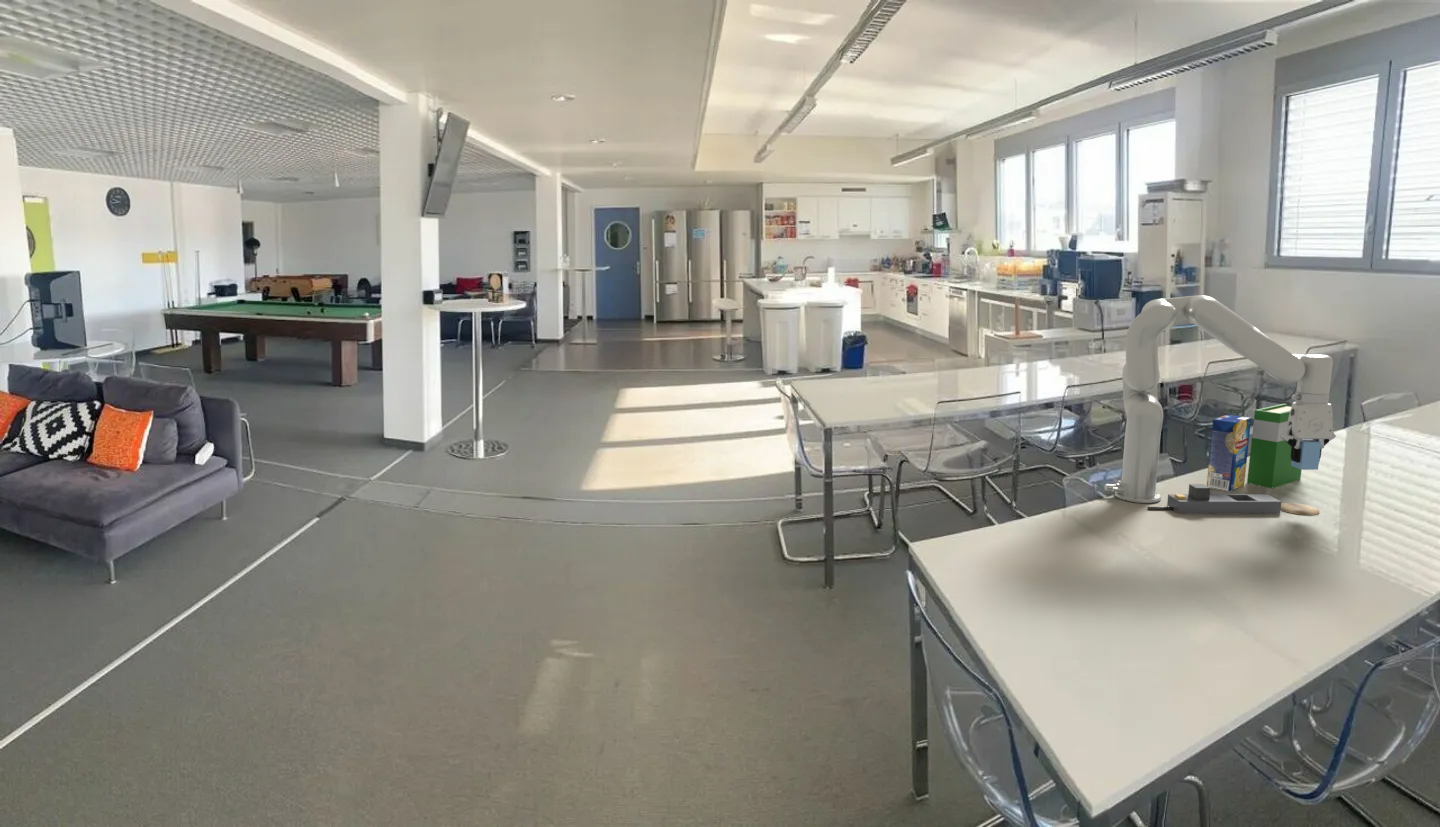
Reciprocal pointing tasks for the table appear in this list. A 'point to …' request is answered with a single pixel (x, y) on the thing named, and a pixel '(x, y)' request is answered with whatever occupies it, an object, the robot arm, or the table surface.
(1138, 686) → the table surface
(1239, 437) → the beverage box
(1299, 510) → the coaster
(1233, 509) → the power strip
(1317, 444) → the block
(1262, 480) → the hardback book
